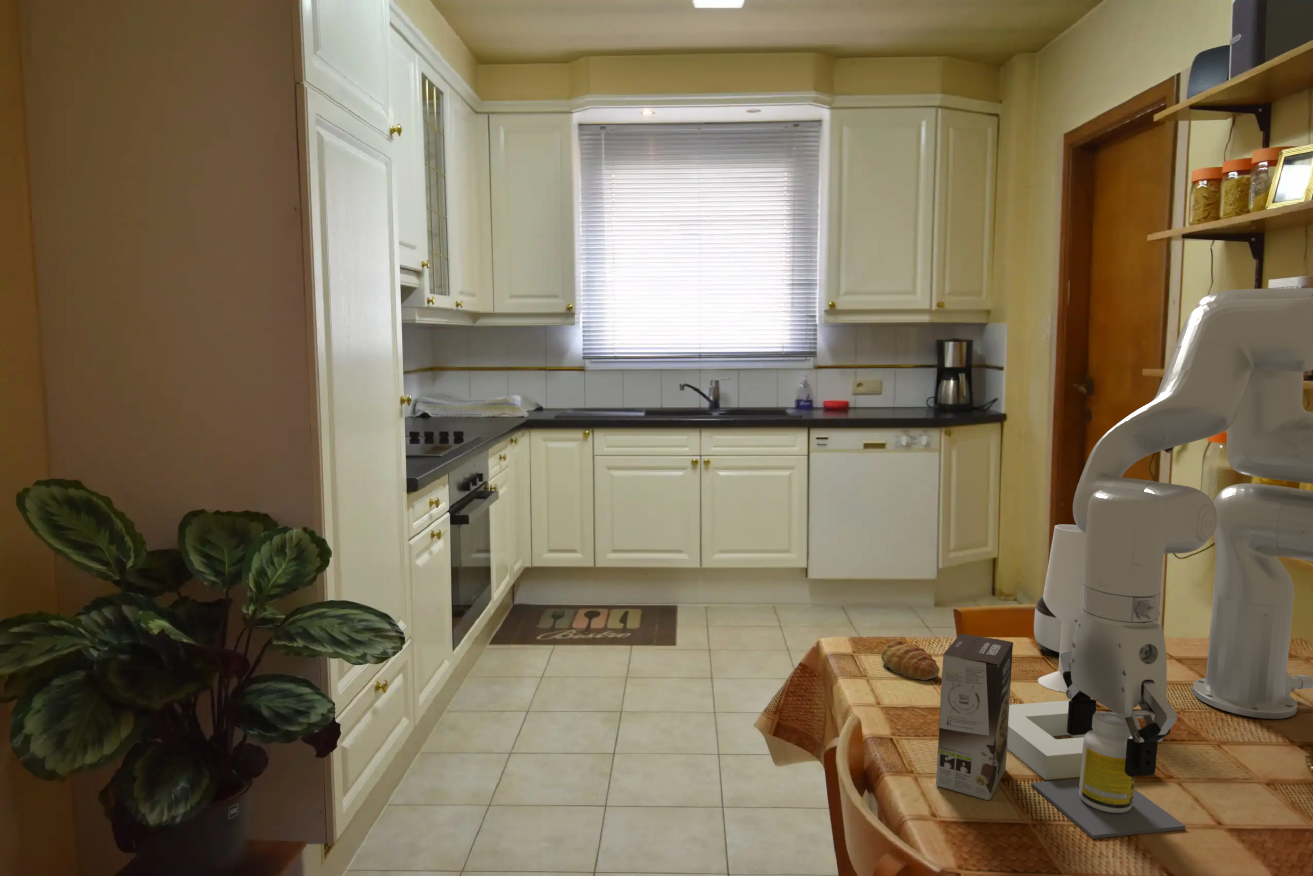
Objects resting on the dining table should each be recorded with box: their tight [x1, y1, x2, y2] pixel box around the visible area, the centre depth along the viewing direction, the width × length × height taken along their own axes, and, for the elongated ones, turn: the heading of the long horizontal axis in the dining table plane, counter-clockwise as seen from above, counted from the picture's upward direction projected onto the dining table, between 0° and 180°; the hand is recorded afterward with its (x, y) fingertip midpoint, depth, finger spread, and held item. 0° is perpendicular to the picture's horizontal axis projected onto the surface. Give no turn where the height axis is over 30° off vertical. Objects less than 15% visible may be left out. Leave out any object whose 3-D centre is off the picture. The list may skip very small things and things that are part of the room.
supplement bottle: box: [1079, 710, 1136, 813], centre depth 99 cm, size 5×5×10 cm
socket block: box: [1007, 699, 1133, 781], centre depth 113 cm, size 14×14×3 cm
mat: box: [1030, 777, 1186, 840], centre depth 99 cm, size 11×11×1 cm
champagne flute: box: [1037, 523, 1086, 693], centre depth 133 cm, size 7×7×24 cm
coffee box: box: [935, 633, 1014, 801], centre depth 105 cm, size 9×6×16 cm
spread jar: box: [1033, 595, 1077, 659], centre depth 148 cm, size 12×11×12 cm
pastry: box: [880, 639, 940, 681], centre depth 139 cm, size 9×7×4 cm
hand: (1108, 753), depth 99 cm, fingers open, 9 cm apart
